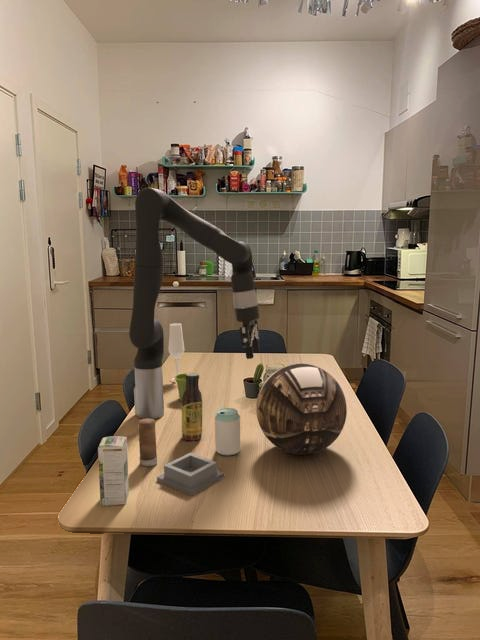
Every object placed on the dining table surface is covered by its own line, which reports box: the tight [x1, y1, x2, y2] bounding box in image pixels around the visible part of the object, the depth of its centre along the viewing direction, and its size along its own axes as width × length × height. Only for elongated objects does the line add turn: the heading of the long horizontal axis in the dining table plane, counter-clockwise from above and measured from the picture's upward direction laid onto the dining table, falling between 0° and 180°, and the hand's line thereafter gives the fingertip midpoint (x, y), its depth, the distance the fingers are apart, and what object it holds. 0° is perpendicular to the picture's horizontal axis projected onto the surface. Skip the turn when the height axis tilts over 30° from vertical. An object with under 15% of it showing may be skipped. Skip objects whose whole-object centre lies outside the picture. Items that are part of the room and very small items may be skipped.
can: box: [214, 407, 241, 457], centre depth 142 cm, size 7×7×12 cm
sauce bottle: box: [181, 372, 203, 441], centre depth 152 cm, size 6×6×20 cm
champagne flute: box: [168, 323, 185, 381], centre depth 210 cm, size 7×7×24 cm
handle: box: [137, 419, 158, 469], centre depth 135 cm, size 5×5×12 cm
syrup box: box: [97, 435, 130, 507], centre depth 117 cm, size 6×6×14 cm
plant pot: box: [173, 372, 201, 401], centre depth 188 cm, size 9×9×9 cm
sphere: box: [255, 363, 348, 456], centre depth 141 cm, size 25×25×25 cm
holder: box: [156, 452, 225, 497], centre depth 127 cm, size 12×12×4 cm
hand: (253, 355), depth 161 cm, fingers open, 8 cm apart
